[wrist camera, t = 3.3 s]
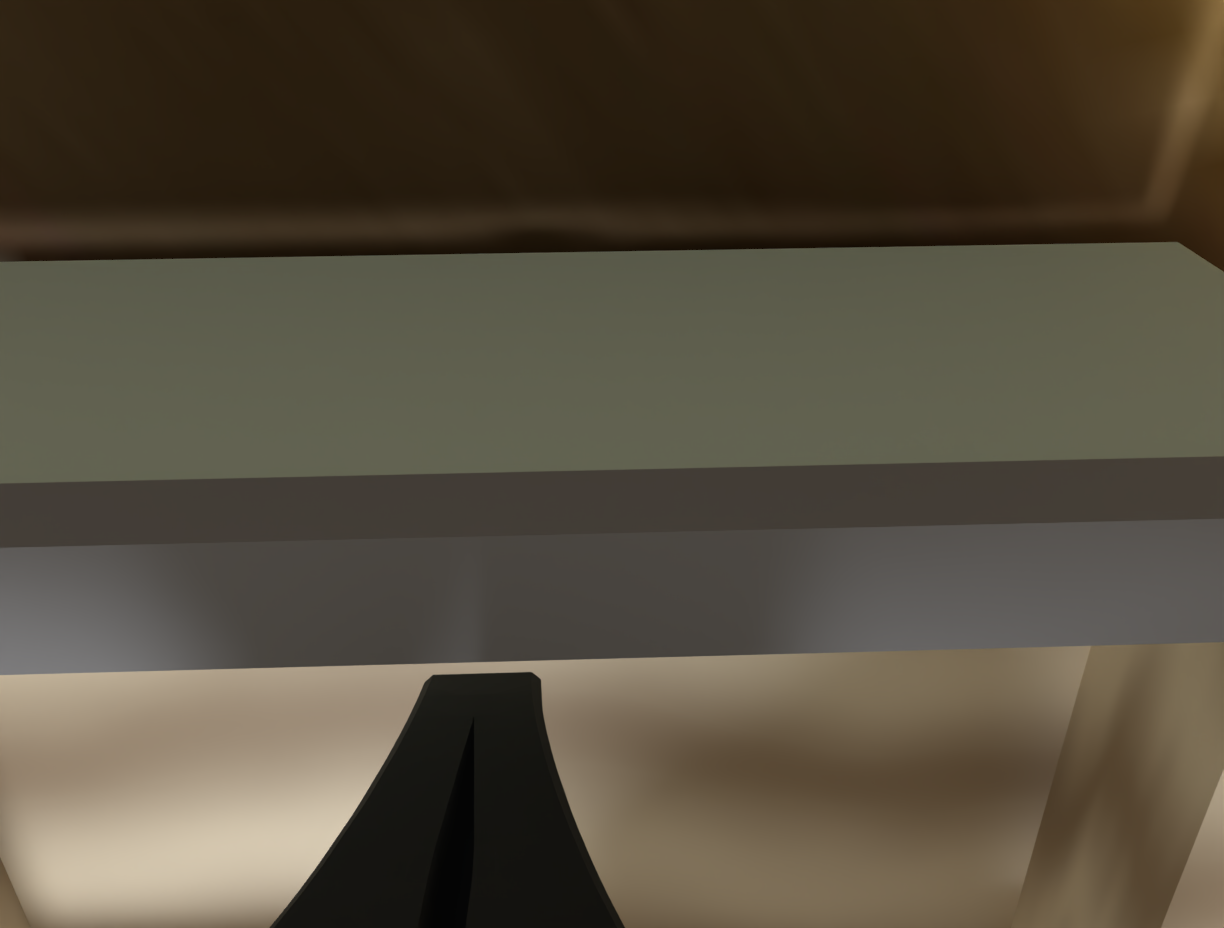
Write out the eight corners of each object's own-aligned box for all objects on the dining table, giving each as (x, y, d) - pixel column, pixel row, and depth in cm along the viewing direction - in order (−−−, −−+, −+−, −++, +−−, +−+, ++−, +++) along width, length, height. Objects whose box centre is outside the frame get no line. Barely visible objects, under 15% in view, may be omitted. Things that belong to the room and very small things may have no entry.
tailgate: (1155, 325, 15) (1533, 634, 9) (-192, 350, 15) (-713, 693, 9) (1178, 239, 15) (1601, 510, 9) (-229, 261, 14) (-820, 567, 8)
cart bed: (1014, 983, 25) (1105, 1218, 21) (59, 1016, 25) (-51, 1266, 20) (1217, 302, 17) (1444, 463, 12) (-247, 329, 16) (-549, 508, 12)
